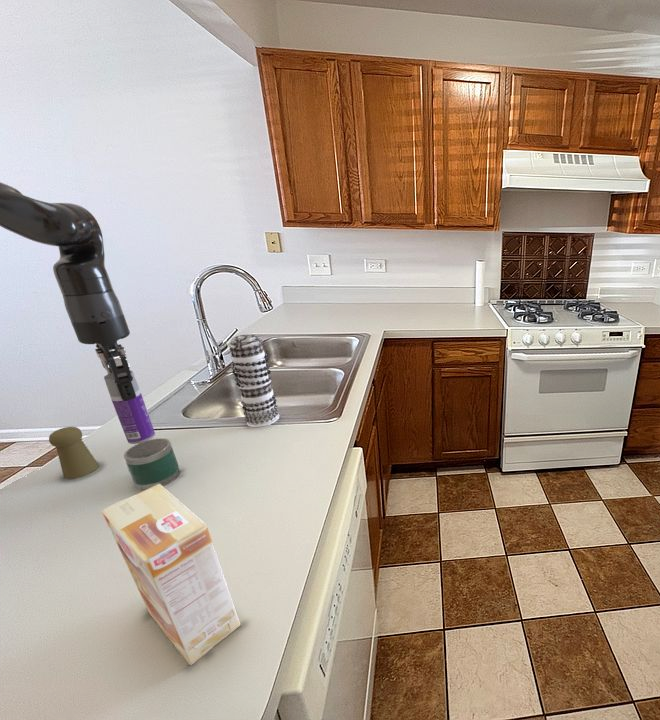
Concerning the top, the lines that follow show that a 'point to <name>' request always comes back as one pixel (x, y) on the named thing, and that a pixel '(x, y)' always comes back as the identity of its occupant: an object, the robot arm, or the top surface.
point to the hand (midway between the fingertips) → (126, 394)
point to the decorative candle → (253, 380)
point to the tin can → (152, 463)
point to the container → (131, 412)
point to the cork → (73, 453)
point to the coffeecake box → (174, 569)
